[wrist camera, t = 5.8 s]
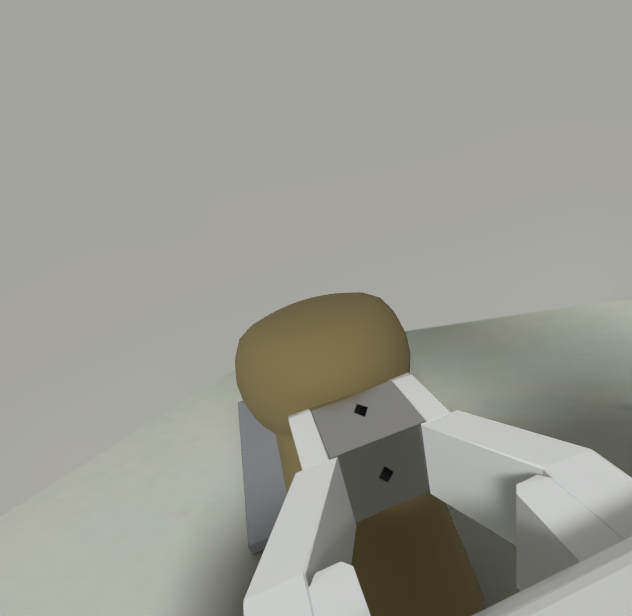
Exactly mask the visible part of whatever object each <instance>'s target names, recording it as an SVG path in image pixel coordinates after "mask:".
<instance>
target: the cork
mask: <svg viewBox="0 0 632 616" xmlns="http://www.w3.org/2000/svg"><path fill="white" fill-rule="evenodd" d="M235 367H236V379H237V385H238V388H239V391H240V393H241V396H242V399H243V401H244V403H245V405H246V406H247V408H248V409H249V410H250V412H251V413H252V415H253V416H254V418H255V419H256V420H257V421H258V422H259V423H261V424H262V425H263V426H264V427H265V428H266V429H268V430H270V431H271V432H273V433H275V434H276V439H277V444H278V450H279V455H280V460H281V465H282V471H283V476H284V481H285V486H286V492H287V493H288V491H289V488H290V486H291V483H292V481H293V478H294V476H295V474H296V473H297V472H300V471H302V467H301V463H300V460H299V456H298V453H297V449H296V446H295V442H294V438H293V435H292V431H291V428H290V424H289V420H288V416H290V415H293V414H296V413H298V412H301V411H304V410H307V409H309V410H310V408H312V407H315V406H318V405H321V404H324V403H327V402H330V401H333V400H336V399H339V398H342V397H345V396H348V395H351V394H354V393H357V392H360V391H362V390H365V389H368V388H370V387H373V386H376V385H379V384H381V383H384V382H387V381H388V380H390V379H392V378H395V377H398V376H400V375H403V374H405V373H410V350H409V345H408V341H407V337H406V333H405V331H404V329H403V327H402V326H401V324H400V322H399V320H398V318H397V316H396V314H395V313H394V311H393V310H392V309H391V308H390V307H389V306H388V305H387V304H386V303H385V302H384V301H383V300H382V299H381V298H379V297H375V296H372V295H369V294H365V293H339V294H338V293H337V294H329V295H324V296H318V297H313V298H309V299H306V300H302V301H299V302H296V303H294V304H291V305H289V306H286V307H284V308H282V309H279V310H277V311H275V312H274V313H272V314H270V315H268V316H266V317H265V318H263V319H261V320H260V321H258V322H257V323H255V324H253V325H252V326H251V327H250V328H249V329H248V330H247V331H246V333H245V334H244V335H243V336H242V337H241V338H240V340H239V345H238V349H237V353H236V360H235ZM351 566H353V567H354V570H355V573H356V575H357V578H358V581H359V584H360V587H361V590H362V592H363V595H364V598H365V601H366V604H367V607H368V609H369V612H370V615H371V616H472V615H474V614H476V613H478V612H480V611H482V610H484V603H483V596H482V593H481V591H480V588H479V585H478V583H477V580H476V577H475V575H474V572H473V569H472V567H471V565H470V562H469V560H468V557H467V555H466V552H465V550H464V547H463V545H462V543H461V540H460V538H459V535H458V533H457V530H456V528H455V525H454V523H453V521H452V518H451V516H450V513H449V511H448V508H447V506H446V503H445V502H443V501H442V500H440V499H439V498H437V497H435V496H434V495H432V494H430V492H427V493H425V494H422V495H420V496H417V497H414V498H412V499H409V500H407V501H404V502H402V503H399V504H396V505H394V506H391V507H389V508H387V509H385V510H383V511H381V512H378V513H376V514H374V515H372V516H370V517H368V518H365V519H363V520H361V521H359V522H357V523H356V533H355V540H354V548H353V555H352V562H351Z"/></svg>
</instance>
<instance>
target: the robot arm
mask: <svg viewBox="0 0 632 616" xmlns="http://www.w3.org/2000/svg"><path fill="white" fill-rule="evenodd" d="M288 420H289V424H290V428H291V431H292V435H293V438H294V442H295V446H296V449H297V453H298V456H299V460H300V463H301V467H302V471H300V472H297V473H296V474H295V476H294V478H293V481H292V483H291V486H290V488H289V491H288V493H287V495H286V498H285V500H284V503H283V505H282V508H281V510H280V513H279V515H278V517H277V520H276V522H275V525H274V527H273V530H272V532H271V535H270V537H269V539H268V542H267V544H266V547H265V549H264V552H263V554H262V557H261V559H260V561H259V564H258V566H257V569H256V571H255V574H254V576H253V578H252V581H251V583H250V586H249V588H248V591H247V593H246V596H245V598H244V600H243V610H244V616H371V615H370V612H369V609H368V607H367V604H366V601H365V598H364V595H363V592H362V590H361V587H360V584H359V581H358V578H357V575H356V573H355V570H354V567H353V566H351V562H352V555H353V548H354V540H355V533H356V523H357V522H359V521H361V520H363V519H365V518H368V517H370V516H372V515H374V514H376V513H378V512H381V511H383V510H385V509H387V508H389V507H391V506H394V505H396V504H399V503H402V502H404V501H407V500H409V499H412V498H414V497H417V496H420V495H422V494H425V493H427V492H430V494H432V495H434V496H435V497H437V498H439V499H440V500H442V501H443V502H445V503H447V504H448V505H450V506H452V507H453V508H455V509H456V510H458V511H460V512H461V513H463V514H465V515H466V516H468V517H470V518H471V519H473V520H474V521H476V522H478V523H479V524H481V525H483V526H484V527H486V528H487V529H489V530H491V531H492V532H494V533H496V534H497V535H499V536H501V537H502V538H504V539H505V540H507V541H509V542H510V543H512V544H514V545H515V546H516V587H517V588H518V590H519V591H520V592H518V593H516V594H514V595H512V596H510V597H508V598H506V599H504V600H502V601H500V602H498V603H496V604H494V605H492V606H490V607H488V608H486V609H484V610H482V611H480V612H478V613H476V614H474V615H472V616H632V478H631V477H630V476H629V475H627V474H626V473H624V472H623V471H621V470H620V469H619V468H617V467H616V466H614V465H613V464H612V463H610V462H609V461H607V460H606V459H605V458H603V457H602V456H600V455H599V454H598V453H596V452H595V451H593V450H592V449H589V448H586V447H582V446H579V445H575V444H572V443H569V442H565V441H562V440H558V439H555V438H551V437H548V436H545V435H541V434H538V433H534V432H531V431H527V430H524V429H521V428H517V427H514V426H510V425H507V424H503V423H500V422H497V421H493V420H490V419H486V418H483V417H479V416H476V415H473V414H469V413H466V412H462V411H459V410H456V411H453V412H450V411H449V410H448V409H447V408H446V407H445V406H444V405H443V404H442V403H441V402H440V401H439V400H438V399H437V398H436V397H435V396H434V395H433V394H432V393H431V392H430V391H429V390H428V389H427V388H426V387H424V386H423V385H422V384H421V383H420V382H419V381H418V380H417V379H416V378H415V377H414V376H413V375H412V374H410V373H405V374H403V375H400V376H398V377H395V378H392V379H390V380H388V381H387V382H384V383H381V384H379V385H376V386H373V387H370V388H368V389H365V390H362V391H360V392H357V393H354V394H351V395H348V396H345V397H342V398H339V399H336V400H333V401H330V402H327V403H324V404H321V405H318V406H315V407H312V408H310V410H309V409H307V410H304V411H301V412H298V413H296V414H293V415H290V416H288Z"/></svg>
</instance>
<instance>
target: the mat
mask: <svg viewBox="0 0 632 616" xmlns="http://www.w3.org/2000/svg"><path fill="white" fill-rule="evenodd" d="M238 409H239V423H240V437H241V451H242V465H243V478H244V492H245V506H246V520H247V534H248V546H249V548H250V551H251V553H252V554H255V553H257V552H260V551H262V550H264V549H265V547H266V544H267V542H268V539H269V537H270V535H271V532H272V530H273V527H274V525H275V522H276V520H277V517H278V515H279V513H280V510H281V508H282V505H283V503H284V500H285V498H286V495H287V492H286V486H285V481H284V476H283V471H282V465H281V460H280V455H279V450H278V444H277V439H276V434H275V433H273V432H271V431H270V430H268V429H266V428H265V427H264V426H263V425H262V424H261V423H259V422H258V421H257V420H256V419H255V418H254V416H253V415H252V413H251V412H250V410H249V409H248V408H247V406H246V405H245V403H244V401H241V402H238Z"/></svg>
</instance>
